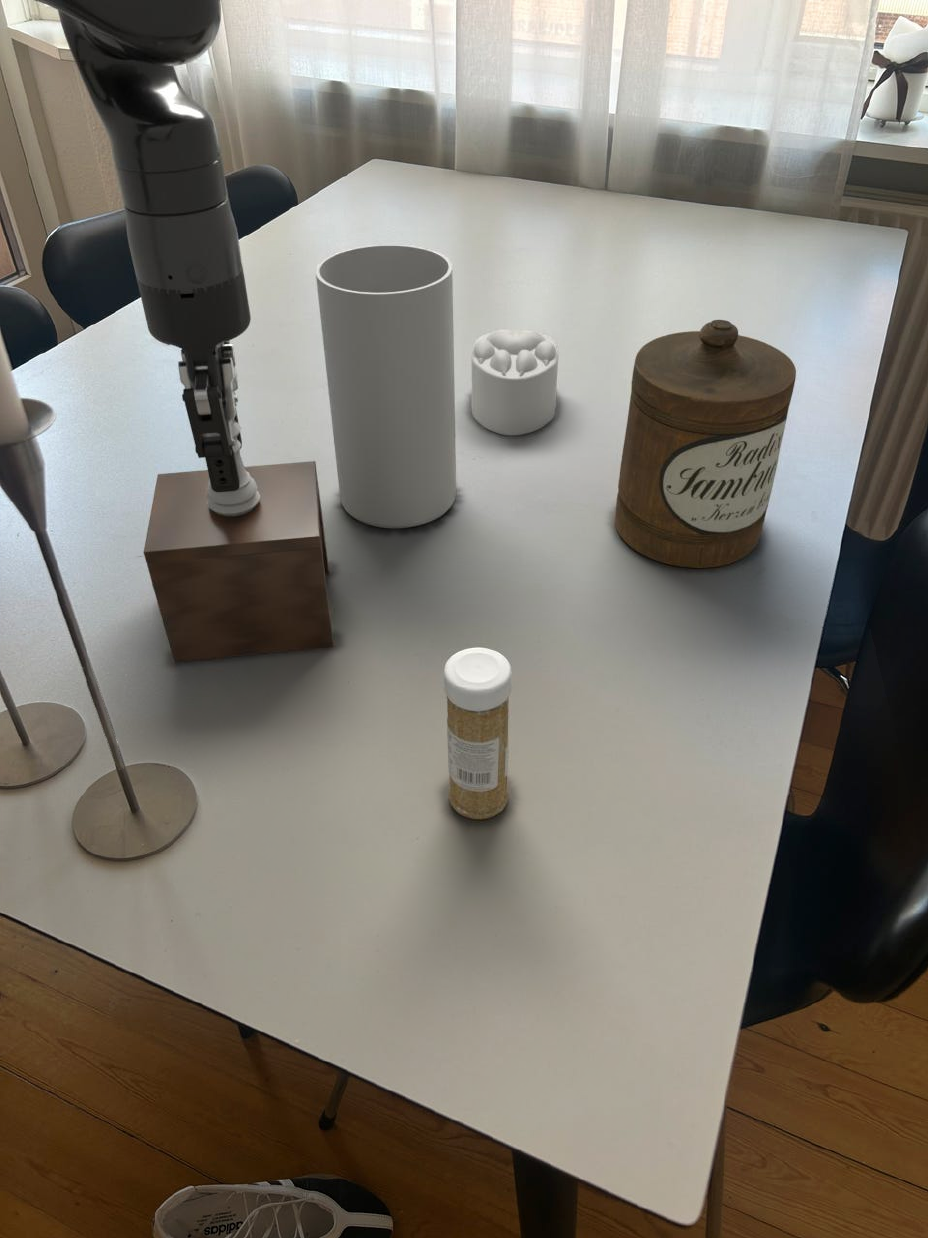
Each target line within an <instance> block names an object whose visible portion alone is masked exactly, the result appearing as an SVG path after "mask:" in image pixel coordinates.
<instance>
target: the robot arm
mask: <svg viewBox="0 0 928 1238" xmlns="http://www.w3.org/2000/svg"><path fill="white" fill-rule="evenodd" d="M34 1H35V2H39V3H41V4H44V5H47V6H49V7H51V8H53V9H54V10H57V13H58V17H59V21H60V24H61V28H62V31H63V34H64V37H65V40H66V43H67V45H68V47H69V51H70V53H71V55H72V57H73V60H74V62H75V64H76V67H77V69H78V72H79V74H80V77H81V79H82V82H83V83H84V86H85V88H86V91H87V93H88V96H89V97H90V100H91V103H92V105H93V106H94V109H95V111H96V113H97V115H98V117H99V119H100V120H101V123H102V125H103V127H104V129H105V132H106V134H107V136H108V138H109V139H108V140H109V142H110V147H111V153H112V159H113V163H114V168H115V173H116V177H117V181H118V187H119V190H120V194H121V199H122V203H123V208H124V209H123V210H124V214H125V215H124V216H125V225H126V226H125V227H126V235H127V243H128V247H129V251H130V256H131V260H132V264H133V268H134V273H135V278H136V282H137V286H138V290H139V295H140V299H141V303H142V307H143V312H144V313H143V314H144V316H145V320H146V325H147V330H148V332H149V334H150V335H151V336H152V338H154V339H155V340H156V341H158V342H160V343H162V344H164V345H166V346H170V345H171V346H174V347H176V348H179V349H180V354H181V360H180V361H179V360H178V364H177V367H178V375H179V380H180V383H181V384H182V385H183V387H184V388H183V390H182V392H183V393H182V394H181V399H182V401H183V402H184V406H185V409H186V413H187V418H188V422H189V425H190V430H191V433H192V438H193V442H194V450H195V454H197V457H198V459H202V458H203V459H204V460H205V464H206V468H207V469H206V470H208V473H209V478H210V483H211V488H212V490H213V491H215V492H229V491H236V490H238V489H239V486H240V480H239V474H238V469H237V464H236V458H235V453H234V446H235V440H234V439H233V436H232V428H231V420H232V419H233V418H234V419H235V422H237V423H238V424H239V425H240V422H239V418H238V412H237V406H238V402H239V396H238V395H237V394H236V391H237V390H238V389H239V379H238V372H237V369H236V365H237V364H236V350H235V347H234V346H235V345H234V343H231V340H234V339H235V338H237V337H239V336H240V335H242V334H243V333H245V331H247V329H248V328H249V326H250V324H251V320H252V319H251V318H252V316H251V310H250V304H249V303H250V302H249V298H248V291H247V286H246V285H247V284H246V278H245V272H244V266H243V259H242V253H241V245H240V239H239V235H238V234H239V233H238V228H237V226H236V222H235V221H236V220H235V217H234V215H233V212H232V208H231V204H230V198H229V195H228V193H229V192H228V187H227V181H226V175H225V168H224V163H223V156H222V151H221V145H220V139H219V135H218V130H217V127H216V124H215V120H214V119H213V116H212V115H211V113H210V112H209V110H207V109H206V108H205V107H204V106H202V104H200V103H198V102H197V101H195V100H194V99H193V98H192V97H190V96H189V94H188V93H187V92H186V91H185V90H184V88H183V87H182V85H181V83H180V80H179V78H178V74H177V72H176V69H175V67H176V66H182V65H186V64H189V63H192V62H194V61H196V60H197V59H199V58H200V57H202V56H203V55H204V54H205V53H207V51H208V50H209V49H210V48H211V46H212V45H213V43H214V42H215V40H216V38H217V36H218V33H219V30H220V26H221V21H222V2H221V1H222V0H34ZM207 433H218V434H220V436H210V437H207ZM237 440H238V441H239V442H240V443H241V447H240V449H239V450H241V449H242V448H243V440H242V434H241V431H240V432H239V434H238V436H237Z"/></svg>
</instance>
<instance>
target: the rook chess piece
mask: <svg viewBox="0 0 928 1238" xmlns="http://www.w3.org/2000/svg"><path fill="white" fill-rule="evenodd" d="M231 428H232V436H233V439H234V440H235V446H234V453H235V458H236V464H237V469H238V474H239V480H240V486H239V489H238V490H236V491H229V492H215V491H213V490H212V488H211V483H210V479H209V484H208V486H207V489H206V495H207V498H208V500H207V504H208V506H209V508H210V509H212V510H213V511H214V512H216V513H217V514H219V515H223V516H238V515H243V514H245V513H247V512H249V511H251V510H252V509H253V508H254V507H255V506H256V505H257V503H258V502H259V499H260V494H259V492H258V491H257V489H258V486H257V484H256V482H255V480H254V479H253V478H252V477H251V476H250V474H249V472H247V471H246V470H245V467H246V466H245V464H244V462H243V459H242V455H241V451H240V450H241V449H240V447H241V443H240V442H239V441H238V440H237V436H238V434H239V432H240V433H241V429H242V427H241V425H240V423H239V424H238V423H237V422H235V419H234V418H233V419H232V420H231ZM210 436H220V434H218V433H207V437H210ZM241 448H242V447H241ZM239 449H240V450H239Z"/></svg>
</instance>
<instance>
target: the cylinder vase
mask: <svg viewBox="0 0 928 1238" xmlns="http://www.w3.org/2000/svg"><path fill="white" fill-rule="evenodd" d="M453 275H454V274H453V263H452V261H451V260H450V259H449V258H448V257H447V256H446V255H444V254H443V253H440V252H439V251H436V250H433V249H429V248H425V247H422V246H416V245H408V244H371V245H364V246H358V247H357V246H356V247H353V248H348V249H345V250H341V251H339V252H335V253H333V254H331V255H329V256H327V257H326V258H324V259H323V260H321V261H320V262H319V263H318V264H317V266H316V268H315V279H316V289H317V298H318V307H319V317H320V326H321V335H322V344H323V353H324V362H325V370H326V371H325V372H326V380H327V391H328V399H329V407H330V417H331V425H332V426H331V427H332V437H333V445H334V453H335V454H334V455H335V463H336V471H337V481H338V482H337V483H338V491H339V499H340V502H341V505H342V507H343V509H344V510H345V511H346V512H347V513H348V514H349V515H350V516H351V517H352V518H354V519H356V520H357V521H359V522H361V523H363V524H366V525H369V526H372V527H378V528H383V529H407V528H413V527H417V526H422V525H424V524H427V523H431V522H433V521H435V520H437V519H438V518H440V517H442V516H443V515H444V514H445V513H447V511H448V510H449V509H450V508H451V507H452V506H453V504H454V502H455V501H456V498H457V497H456V496H457V453H456V450H457V449H456V448H457V447H456V397H455V395H456V394H455V393H456V392H455V391H456V390H455V343H454V342H455V341H454V340H455V339H454V337H455V335H454V334H455V333H454V331H455V330H454V285H453V283H454V282H453V281H454V280H453V278H454V277H453Z"/></svg>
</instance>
